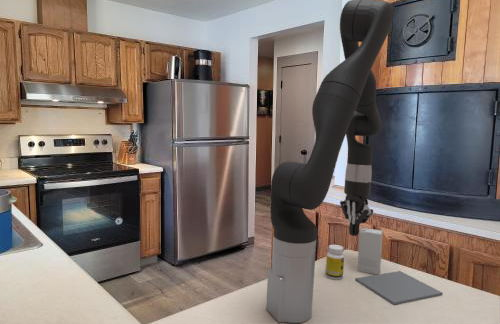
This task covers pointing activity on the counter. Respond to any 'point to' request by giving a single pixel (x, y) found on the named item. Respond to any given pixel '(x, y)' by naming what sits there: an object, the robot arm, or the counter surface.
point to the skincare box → (370, 250)
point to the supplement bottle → (335, 262)
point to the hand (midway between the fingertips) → (353, 235)
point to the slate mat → (398, 287)
